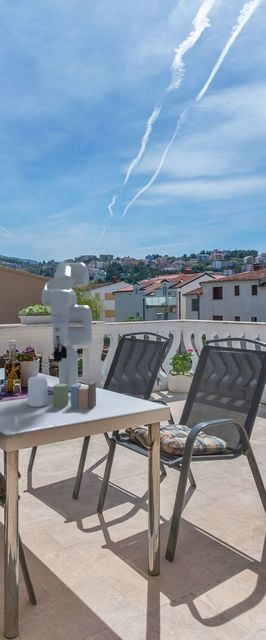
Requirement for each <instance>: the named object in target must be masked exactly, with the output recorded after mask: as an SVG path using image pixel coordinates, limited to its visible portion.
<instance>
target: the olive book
mask: <svg viewBox="0 0 266 640" xmlns="http://www.w3.org/2000/svg"><path fill="white" fill-rule="evenodd" d="M52 396H53V397H52V407H53V409H55V408H56V409H65V408H66V407H68V405H69V391H68V384H59V383H55V384H54V385H53V386H52Z"/></svg>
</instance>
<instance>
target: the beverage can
mask: <svg viewBox="0 0 266 640" xmlns="http://www.w3.org/2000/svg"><path fill="white" fill-rule="evenodd" d="M48 401H49V400H48V379H47V377H46V376H41V375H39V376H36V375H35V376H30V377H29V378H28V379H27V402H28V403H27V404H28V406H29V407H31V408H43V407H45V406H47V405H48Z"/></svg>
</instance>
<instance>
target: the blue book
mask: <svg viewBox="0 0 266 640" xmlns="http://www.w3.org/2000/svg"><path fill="white" fill-rule="evenodd" d="M81 386H82V384H81V383H78V384H73V385H72V386H71V391H70V409H79V408H78V389H79V388H80V387H81Z"/></svg>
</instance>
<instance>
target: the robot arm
mask: <svg viewBox="0 0 266 640" xmlns="http://www.w3.org/2000/svg"><path fill="white" fill-rule="evenodd" d="M89 283H90V274H89V270H88V266H87V265H86V264H85V263H84V262H63V263H62V262H61V263H60V264H59V265H58V266H57V268H56V271H54V274H53V278H52V279H50V280H48V281H47V282H45V284H44V285H43V286H42V287H43V289H42V291H41V303H42V304H43V306H44V307H47V308H50V323H51V324H53V325H52V345H53V361H54V362H58V384H68V392H71V386H72V385H73V384H79V372H78V371H79V369H78V368H79V358H78V357H79V355H78V352H77V351H76V349H75V348H74V346H89V345H90V344H91V343H92V339H93V336H92V333H93V324H92V323H93V318H92V316H93V315H92V309H91V307H90V306H88V305H86V304H85V305H84V304H77V303H78V301H77V300H78V299H77V298H78V297H77V294H76V293H75V291H74V289H72V288H75V287H76V288H77V287H78V288H80V287H81V288H82V287H86V286H88V284H89ZM69 325H70V326H69ZM72 325H79V326H72ZM80 325H82V326H80Z"/></svg>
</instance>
